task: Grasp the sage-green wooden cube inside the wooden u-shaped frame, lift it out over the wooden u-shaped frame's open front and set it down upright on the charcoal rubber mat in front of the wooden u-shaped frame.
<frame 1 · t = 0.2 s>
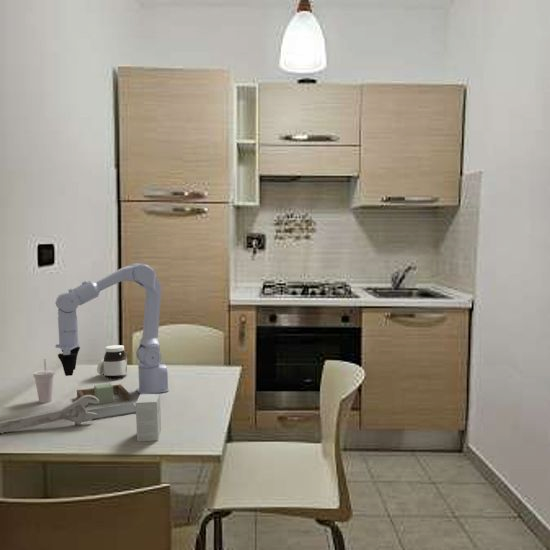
hand: (70, 372, 186), 10 cm above the table, tool pointing down, fingers open, 7 cm apart
small box: (149, 437, 155), on the table
wooden u-shaped frame: (104, 400, 189), on the table
mat: (113, 412, 177), on the table
wrench: (45, 429, 163), on the table
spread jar: (111, 377, 221), on the table
cube: (103, 393, 189), in the wooden u-shaped frame
smoothie: (45, 402, 189), on the table
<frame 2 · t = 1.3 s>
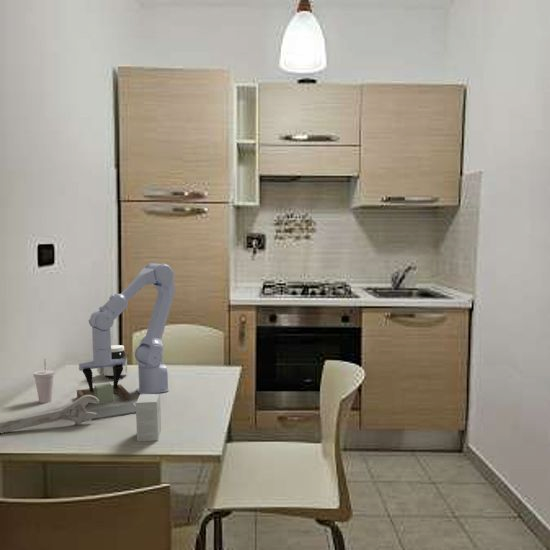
hand: (103, 389, 189), 4 cm above the table, tool pointing down, fingers open, 7 cm apart
nothing on the table moved.
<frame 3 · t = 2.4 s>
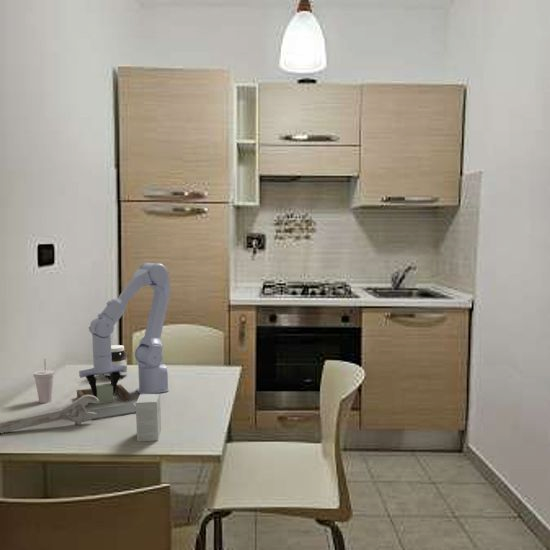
hand: (103, 396, 189), 1 cm above the table, tool pointing down, fingers closed on cube, 5 cm apart
cube: (103, 393, 189), in the wooden u-shaped frame, touching gripper
everything else where it was.
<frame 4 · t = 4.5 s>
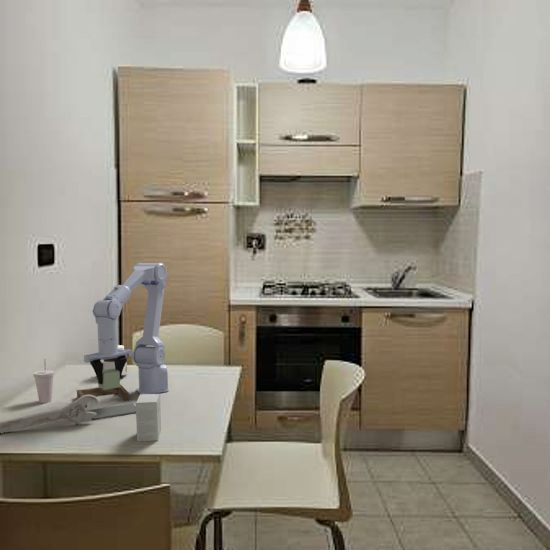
hand: (109, 382, 179), 8 cm above the table, tool pointing down, fingers closed on cube, 5 cm apart
cube: (108, 378, 179), point 9 cm above the table, touching gripper
everything else where it was.
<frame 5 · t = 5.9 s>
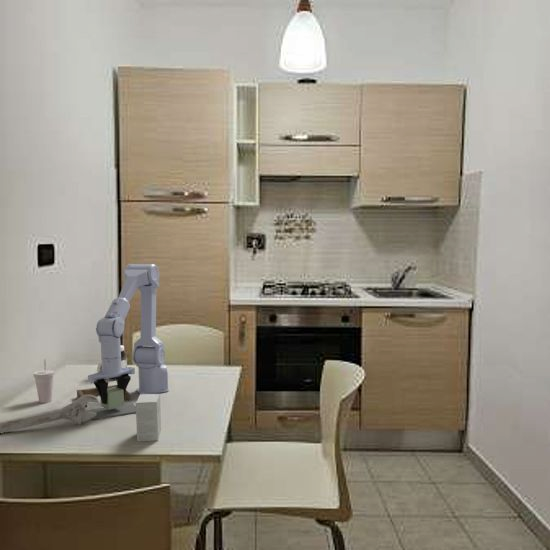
hand: (112, 401, 176), 3 cm above the table, tool pointing down, fingers closed on cube, 5 cm apart
cube: (112, 398, 176), point 4 cm above the table, touching gripper
everything else where it was.
when the fingers open (3 cm above the table, at t = 6.6 s): cube drops 1 cm, resting on mat.
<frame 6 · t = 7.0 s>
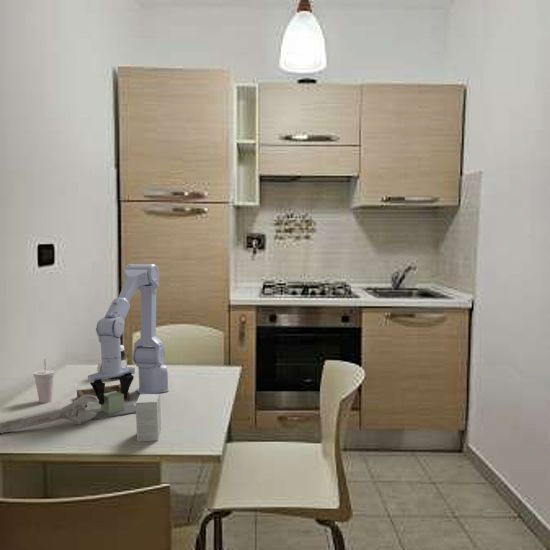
hand: (112, 401, 176), 3 cm above the table, tool pointing down, fingers open, 7 cm apart
cube: (112, 402, 177), on the mat
everything else where it was.
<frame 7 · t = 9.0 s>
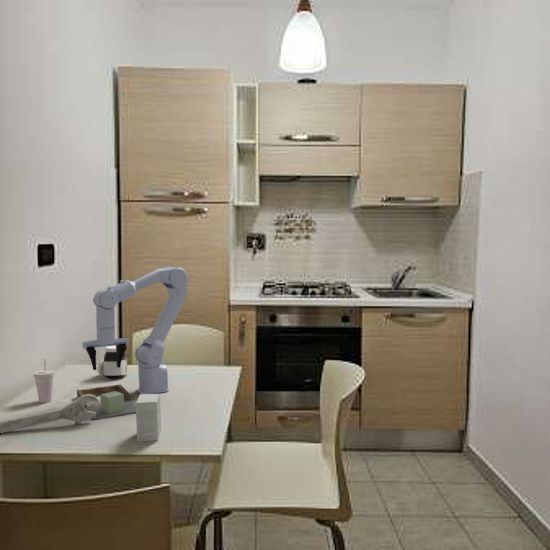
hand: (106, 368, 189), 10 cm above the table, tool pointing down, fingers open, 7 cm apart
nothing on the table moved.
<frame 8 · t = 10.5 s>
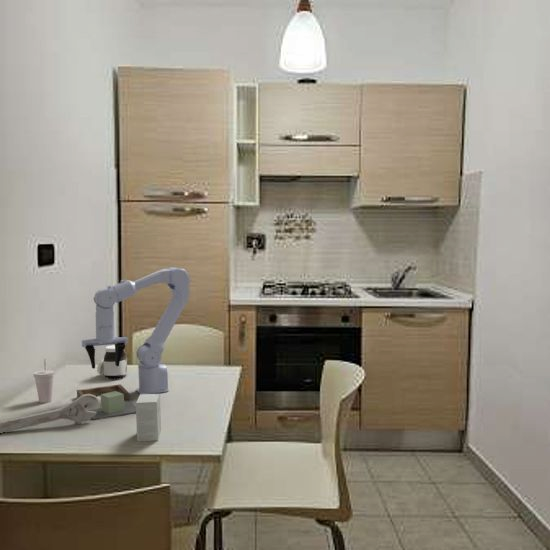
hand: (105, 366, 191), 10 cm above the table, tool pointing down, fingers open, 7 cm apart
nothing on the table moved.
at the end: cube inside the target area (0.3 cm from its centre), point 3.0 cm above the table; cube tilted 0°; the gripper is holding nothing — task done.
